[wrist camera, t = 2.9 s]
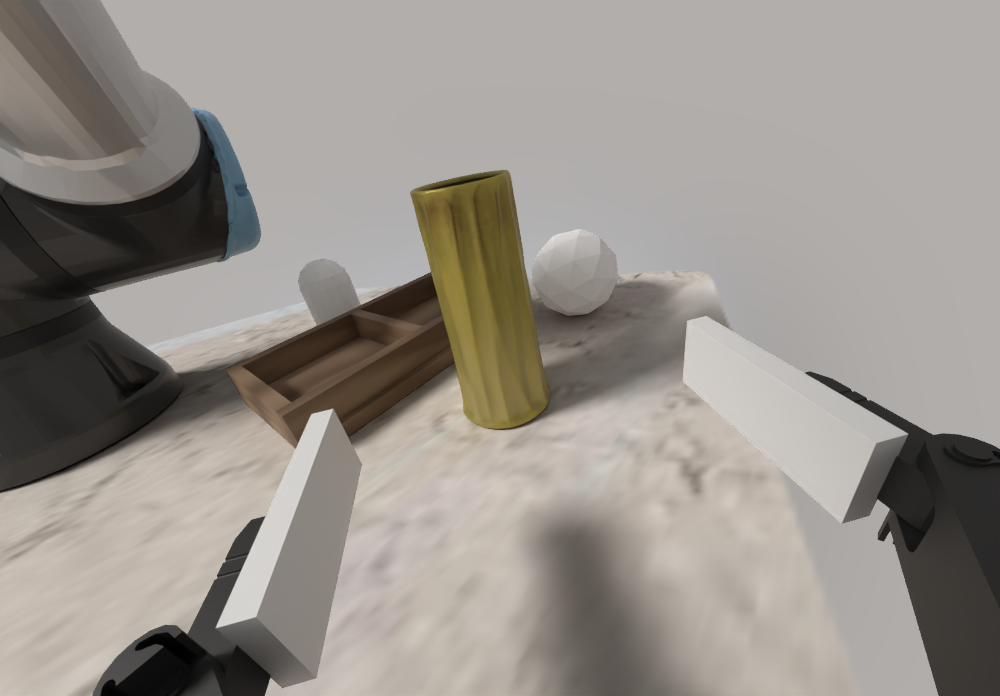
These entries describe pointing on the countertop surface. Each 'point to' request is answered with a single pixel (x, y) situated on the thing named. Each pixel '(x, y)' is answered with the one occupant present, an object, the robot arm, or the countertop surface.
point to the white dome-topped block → (327, 290)
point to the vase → (484, 296)
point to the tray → (349, 362)
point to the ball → (575, 272)
